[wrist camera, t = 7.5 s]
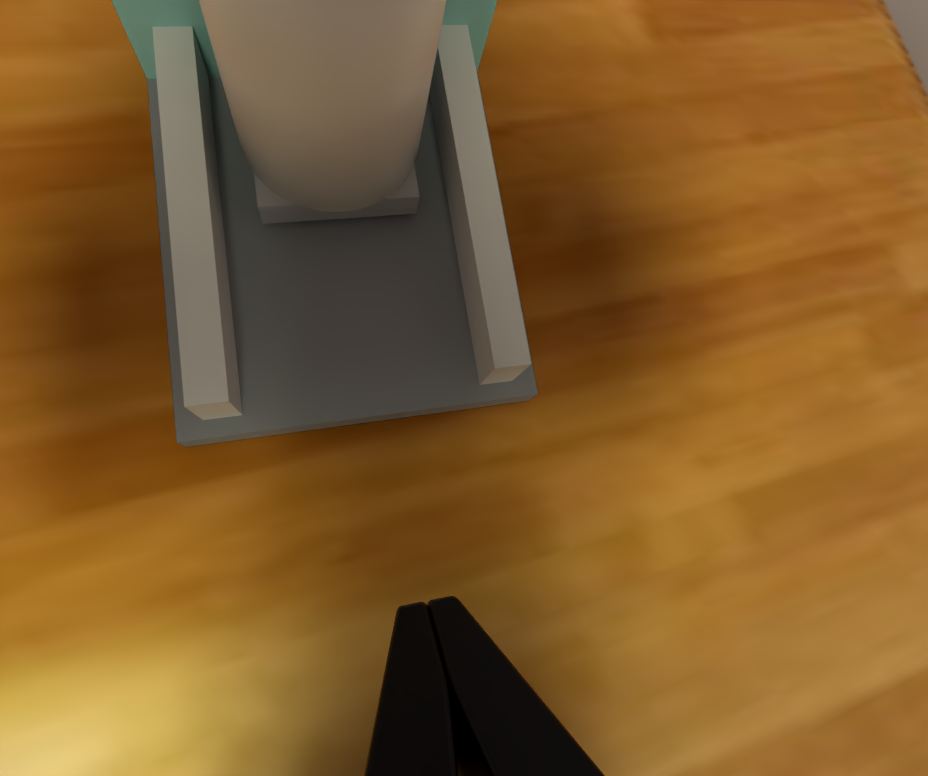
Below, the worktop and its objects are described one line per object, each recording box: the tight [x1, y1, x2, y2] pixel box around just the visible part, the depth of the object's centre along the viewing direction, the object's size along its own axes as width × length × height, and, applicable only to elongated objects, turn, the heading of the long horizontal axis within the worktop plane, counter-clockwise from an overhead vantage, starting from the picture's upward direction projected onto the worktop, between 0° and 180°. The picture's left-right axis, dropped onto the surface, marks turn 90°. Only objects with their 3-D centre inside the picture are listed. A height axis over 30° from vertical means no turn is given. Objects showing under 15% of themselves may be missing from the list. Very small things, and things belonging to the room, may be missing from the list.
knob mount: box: [112, 0, 538, 447], centre depth 17 cm, size 13×10×6 cm
